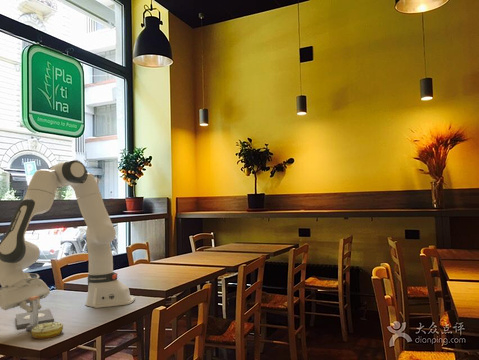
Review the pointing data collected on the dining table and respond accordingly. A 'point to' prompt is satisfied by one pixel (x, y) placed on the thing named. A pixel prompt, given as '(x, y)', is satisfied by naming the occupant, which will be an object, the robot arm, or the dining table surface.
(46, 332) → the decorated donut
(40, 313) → the slate board
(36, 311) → the grey stamp
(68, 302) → the dining table surface
